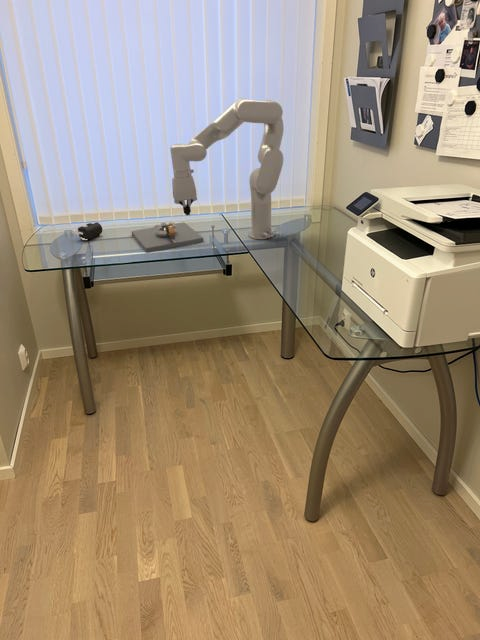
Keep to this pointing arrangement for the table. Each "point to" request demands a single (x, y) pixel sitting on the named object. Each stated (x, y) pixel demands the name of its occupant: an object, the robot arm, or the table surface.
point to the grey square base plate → (166, 238)
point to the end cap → (90, 230)
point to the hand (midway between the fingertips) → (187, 214)
